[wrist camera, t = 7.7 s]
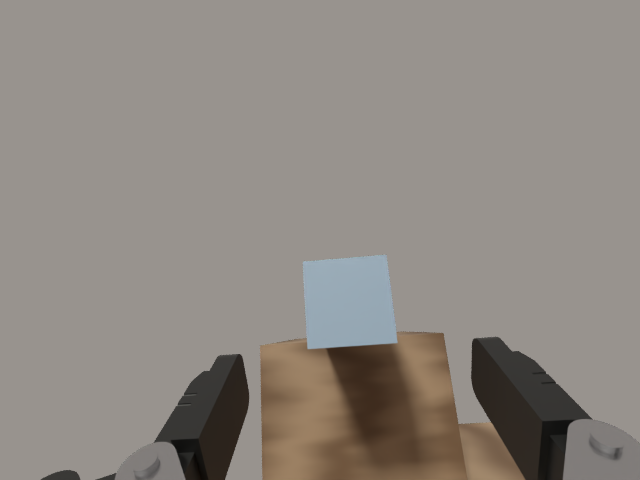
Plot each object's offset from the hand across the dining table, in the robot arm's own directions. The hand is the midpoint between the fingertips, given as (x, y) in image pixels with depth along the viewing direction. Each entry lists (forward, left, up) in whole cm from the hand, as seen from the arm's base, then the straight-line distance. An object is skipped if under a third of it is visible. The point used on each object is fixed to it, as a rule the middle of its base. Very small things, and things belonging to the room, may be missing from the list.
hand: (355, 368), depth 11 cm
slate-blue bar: (0, -12, +1) cm, 12 cm away
